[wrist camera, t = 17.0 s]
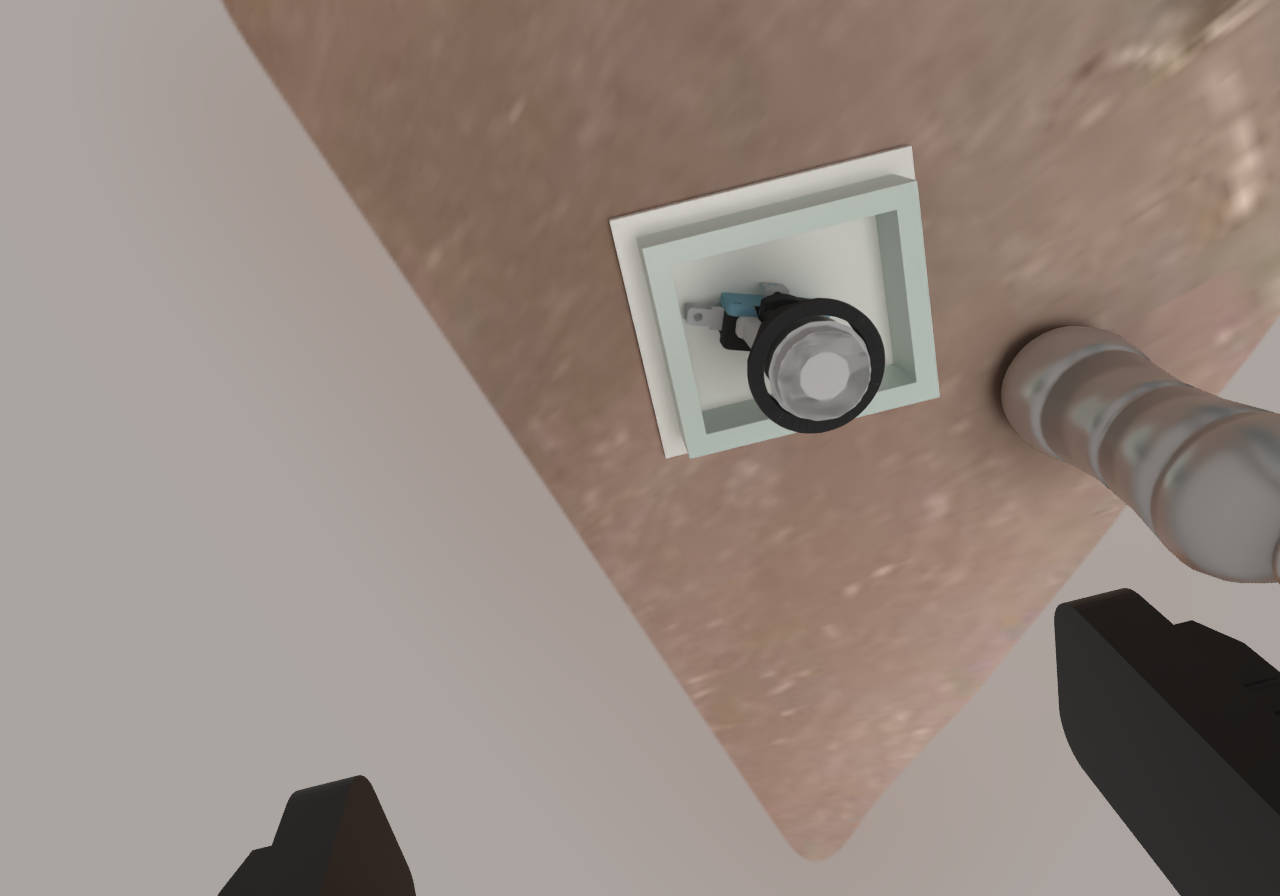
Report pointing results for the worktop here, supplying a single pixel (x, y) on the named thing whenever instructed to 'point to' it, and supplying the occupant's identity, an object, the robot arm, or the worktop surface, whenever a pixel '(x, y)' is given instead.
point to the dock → (777, 253)
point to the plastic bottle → (1156, 447)
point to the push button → (800, 354)
